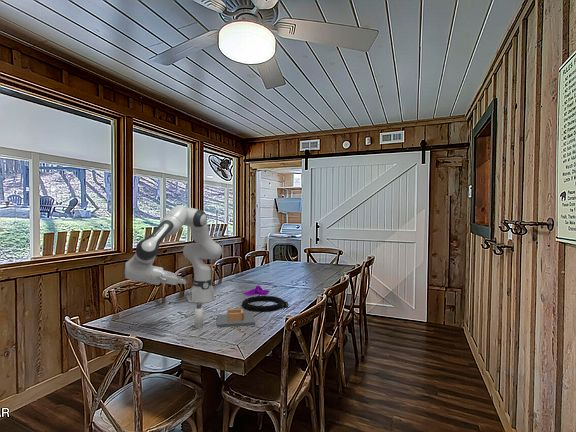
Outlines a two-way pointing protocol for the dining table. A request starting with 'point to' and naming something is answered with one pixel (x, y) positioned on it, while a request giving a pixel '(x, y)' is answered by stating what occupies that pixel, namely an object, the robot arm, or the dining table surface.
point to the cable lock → (278, 306)
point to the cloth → (256, 291)
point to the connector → (199, 316)
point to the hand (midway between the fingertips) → (185, 280)
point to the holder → (235, 318)
